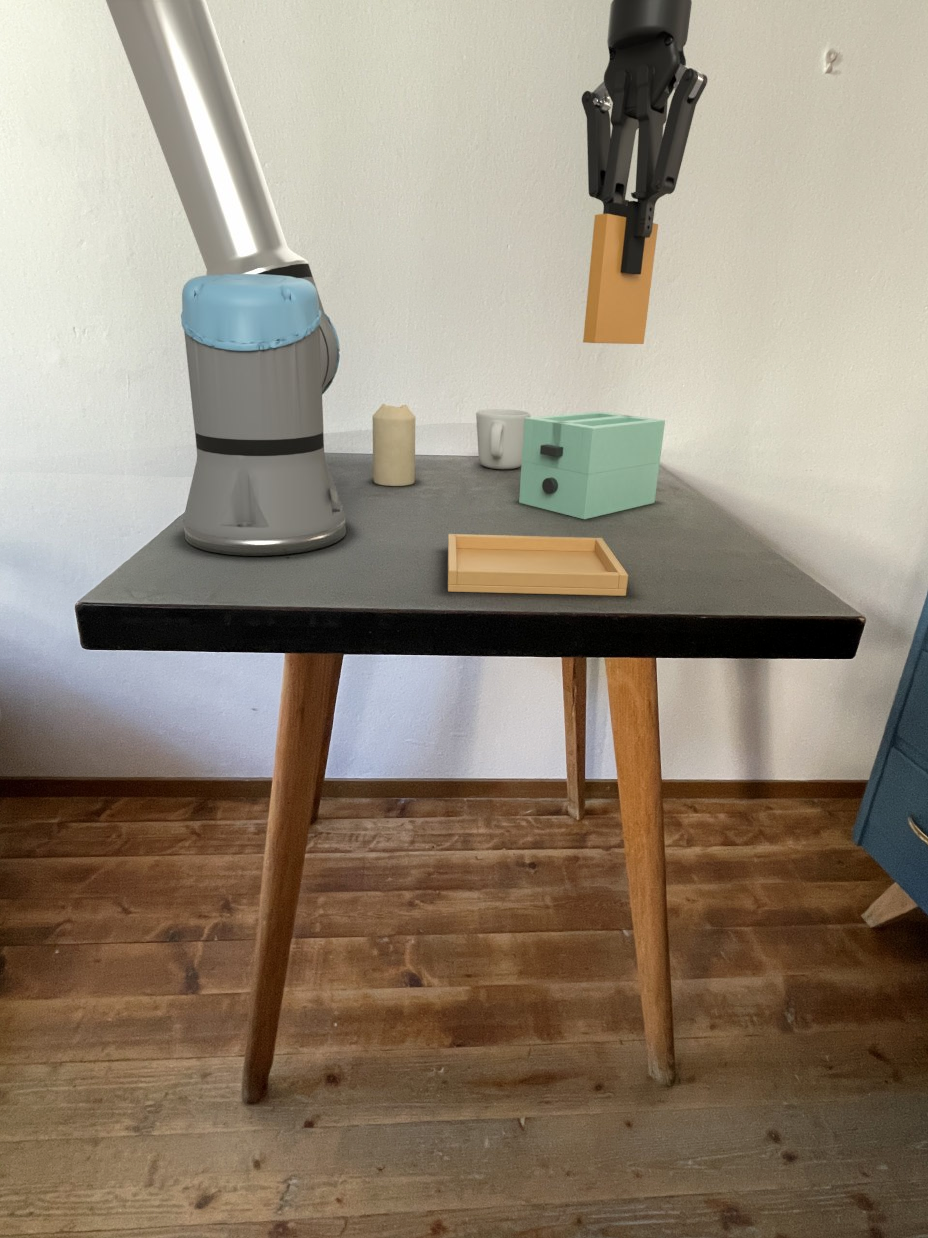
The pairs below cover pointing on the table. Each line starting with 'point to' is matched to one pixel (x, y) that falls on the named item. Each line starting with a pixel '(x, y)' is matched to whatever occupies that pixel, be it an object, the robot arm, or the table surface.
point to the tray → (533, 565)
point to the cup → (500, 437)
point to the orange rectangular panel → (616, 286)
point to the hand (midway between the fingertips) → (621, 272)
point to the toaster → (590, 462)
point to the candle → (393, 446)
